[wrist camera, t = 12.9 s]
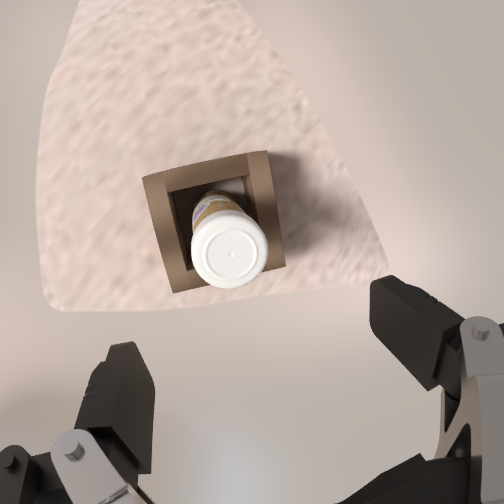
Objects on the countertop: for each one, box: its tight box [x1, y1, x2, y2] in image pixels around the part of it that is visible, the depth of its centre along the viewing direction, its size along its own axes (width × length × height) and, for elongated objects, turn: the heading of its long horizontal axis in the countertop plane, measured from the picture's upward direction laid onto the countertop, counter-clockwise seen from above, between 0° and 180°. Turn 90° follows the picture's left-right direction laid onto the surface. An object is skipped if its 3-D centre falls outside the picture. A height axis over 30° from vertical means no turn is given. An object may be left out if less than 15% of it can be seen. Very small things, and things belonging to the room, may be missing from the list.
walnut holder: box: [142, 150, 286, 293], centre depth 27 cm, size 10×10×5 cm
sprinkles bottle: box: [191, 190, 268, 289], centre depth 23 cm, size 5×5×14 cm
